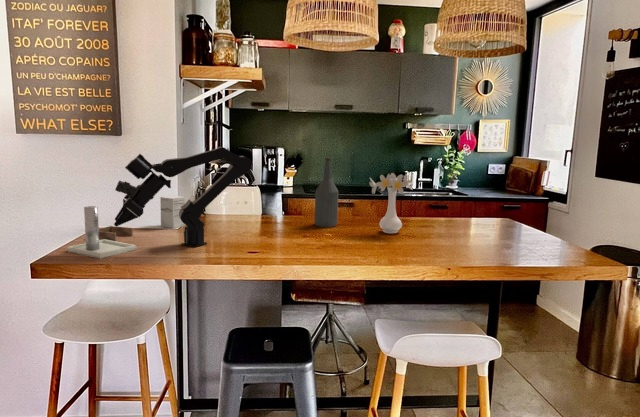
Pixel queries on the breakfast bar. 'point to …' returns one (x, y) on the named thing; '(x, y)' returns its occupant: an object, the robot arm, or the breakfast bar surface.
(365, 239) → the breakfast bar surface
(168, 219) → the supplement box
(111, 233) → the brown u-shaped frame
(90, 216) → the pin
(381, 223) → the flower vase
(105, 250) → the tray
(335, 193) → the bottle
